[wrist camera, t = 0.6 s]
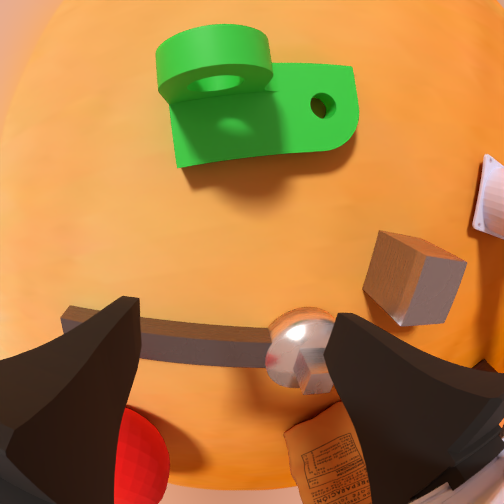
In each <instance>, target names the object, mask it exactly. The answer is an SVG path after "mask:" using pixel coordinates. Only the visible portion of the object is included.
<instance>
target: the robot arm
mask: <svg viewBox="0 0 504 504" xmlns="http://www.w3.org/2000/svg"><path fill="white" fill-rule="evenodd" d="M472 227H473V228H474V229H476V230H479V231H482V232H485V233H488V234H490V235H493V236H496V237H498V238H501V239H503V240H504V166H503V165H501V164H500V163H499V162H498V161H496V160H495V159H494V158H492V157H491V156H490V155H488V154H485V155H484V160H483V168H482V176H481V182H480V188H479V194H478V199H477V205H476V209H475V214H474V218H473V223H472ZM141 347H142V341H141V325H140V300H139V298H135V297H127V296H122V297H120V298H118V299H117V300H115V301H114V302H112V303H111V304H110V305H108V306H107V307H105V308H104V309H102V310H101V311H100V312H98V313H97V314H95V315H94V316H92V317H91V318H89V319H88V320H86V321H85V322H83V323H81V324H80V325H78V326H77V327H75V328H73V329H72V330H70V331H68V332H67V333H65V334H63V335H62V336H60V337H58V338H56V339H54V340H52V341H50V342H48V343H46V344H44V345H42V346H39V347H37V348H35V349H32V350H29V351H27V352H24V353H21V354H19V355H16V356H13V357H10V358H7V359H3V360H0V504H114V480H115V464H116V454H117V445H118V438H119V431H120V425H121V421H122V417H123V414H124V410H125V407H126V403H127V400H128V397H129V394H130V391H131V387H132V384H133V381H134V378H135V375H136V372H137V368H138V363H139V358H140V352H141ZM323 356H324V359H325V363H326V366H327V369H328V372H329V375H330V377H331V380H332V382H333V384H334V386H335V388H336V390H337V392H338V394H339V396H340V398H341V400H342V402H343V404H344V406H345V408H346V410H347V412H348V414H349V416H350V418H351V421H352V423H353V425H354V428H355V431H356V434H357V437H358V440H359V443H360V446H361V450H362V453H363V457H364V461H365V465H366V469H367V474H368V479H369V484H370V492H371V500H372V504H504V436H503V437H502V438H500V436H499V435H498V434H499V433H500V432H501V431H502V428H501V427H500V426H499V423H500V422H501V421H502V419H503V418H504V373H494V372H486V371H481V370H476V369H472V368H467V367H464V366H460V365H457V364H454V363H451V362H448V361H445V360H442V359H440V358H437V357H435V356H433V355H430V354H428V353H426V352H423V351H421V350H419V349H417V348H415V347H413V346H411V345H409V344H408V343H406V342H404V341H402V340H400V339H398V338H397V337H395V336H393V335H391V334H390V333H388V332H386V331H385V330H383V329H381V328H379V327H378V326H376V325H374V324H373V323H371V322H369V321H367V320H365V319H363V318H362V317H360V316H357V315H355V314H353V313H338V314H337V317H336V320H335V323H334V326H333V329H332V332H331V335H330V338H329V340H328V343H327V346H326V348H325V351H324V354H323Z"/></svg>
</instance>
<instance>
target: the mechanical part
mask: <svg viewBox="0 0 504 504" xmlns="http://www.w3.org/2000/svg"><path fill="white" fill-rule="evenodd" d="M156 69H157V81H158V91H159V93H160V94H161V95H162V97H163V98H164V99H165V100H166V101H167V103H168V104H169V109H170V118H171V126H172V134H173V142H174V149H175V157H176V164H177V168H181V167H187V166H193V165H199V164H205V163H211V162H218V161H225V160H232V159H240V158H248V157H256V156H266V155H276V154H287V153H300V152H315V151H328V150H332V149H335V148H338V147H340V146H341V145H343V144H344V143H346V142H347V141H348V140H349V139H350V137H351V136H352V135H353V133H354V132H355V129H356V127H357V124H358V120H359V105H358V98H357V91H356V85H355V79H354V73H353V68H352V67H351V66H342V65H330V64H313V63H272V62H271V56H270V49H269V43H268V38H267V36H266V35H265V34H264V33H263V32H261V31H259V30H257V29H254V28H252V27H248V26H243V25H235V24H215V25H207V26H201V27H197V28H193V29H189V30H186V31H183V32H181V33H178V34H176V35H174V36H172V37H171V38H169V39H167V40H166V41H164V42H163V43H162V44H161V45H160V46H159V47H158V49H157V51H156ZM312 98H317V99H319V100H320V101H321V102H322V103H323V104H324V106H325V109H326V114H325V116H324V118H323V119H322V118H319V117H317V116H316V115H315V114H314V113H313V111H312V109H311V106H310V102H311V99H312Z"/></svg>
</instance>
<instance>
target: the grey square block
mask: <svg viewBox="0 0 504 504" xmlns="http://www.w3.org/2000/svg"><path fill="white" fill-rule="evenodd" d="M466 265H467V262H466V261H464V260H462V259H460V258H458V257H456V256H455V255H453V254H451V253H449V252H447V251H445V250H443V249H441V248H439V247H437V246H435V245H433V244H431V243H429V242H427V241H425V240H423V239H420V238H416V237H411V236H406V235H401V234H396V233H390V232H385V231H380V230H379V233H378V237H377V241H376V245H375V248H374V252H373V256H372V259H371V263H370V266H369V269H368V273H367V276H366V279H365V283H364V286H363V290H364V291H365V292H366V293H367V294H368V295H369V296H370V297H371V298H372V299H373V300H374V301H375V302H376V303H377V304H378V305H379V306H380V307H382V308H383V309H384V310H385V311H386V312H387V313H388V314H389V315H390V316H391V317H392V318H393V319H394V320H395V321H396V322H397V323H398V324H399V325H400V326H415V325H428V324H439V323H444V322H445V320H446V317H447V315H448V313H449V311H450V308H451V306H452V303H453V301H454V298H455V296H456V293H457V291H458V288H459V285H460V283H461V280H462V277H463V274H464V271H465V268H466Z"/></svg>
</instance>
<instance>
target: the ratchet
mask: <svg viewBox="0 0 504 504" xmlns="http://www.w3.org/2000/svg"><path fill="white" fill-rule="evenodd" d="M98 312H100V311H97V310H92V309H86V308H81V307H75V306H69V307H68V309H67V310H66V311H65V312H64V314H63V315H62V316H61V323H62V328H63V332H64V334H65V333H67V332H68V331H70V330H72V329H73V328H75V327H77V326H78V325H80V324H81V323H83V322H85V321H86V320H88V319H89V318H91V317H92V316H94V315H95V314H97V313H98ZM334 323H335V319H334V318H333V317H332V315H331V314H329V313H328V312H326V311H325V310H322V309H319V308H314V307H304V308H298V309H294V310H292V311H289V312H287V313H285V314H283V315H282V316H280V317H278V318H277V319H276V320H275V321H274V322H273V323H272V324H271V325H270V326H269V327H268V328H251V327H234V326H220V325H207V324H196V323H186V322H176V321H167V320H159V319H151V318H143V317H140V325H141V341H142V347H141V352H140V358H143V359H150V360H157V361H165V362H174V363H184V364H195V365H208V366H225V367H252V368H266V370H267V373H268V375H269V376H270V378H271V379H272V380H273V381H274V382H276V383H277V384H279V385H281V386H284V387H289V388H300V389H301V391H302V394H303V395H308V394H320V393H329V392H330V390H331V388H332V386H333V382H332V380H331V377H330V375H329V372H328V369H327V366H326V363H325V359H324V356H323V354H324V351H325V348H326V346H327V343H328V340H329V338H330V335H331V332H332V329H333V326H334Z"/></svg>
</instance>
